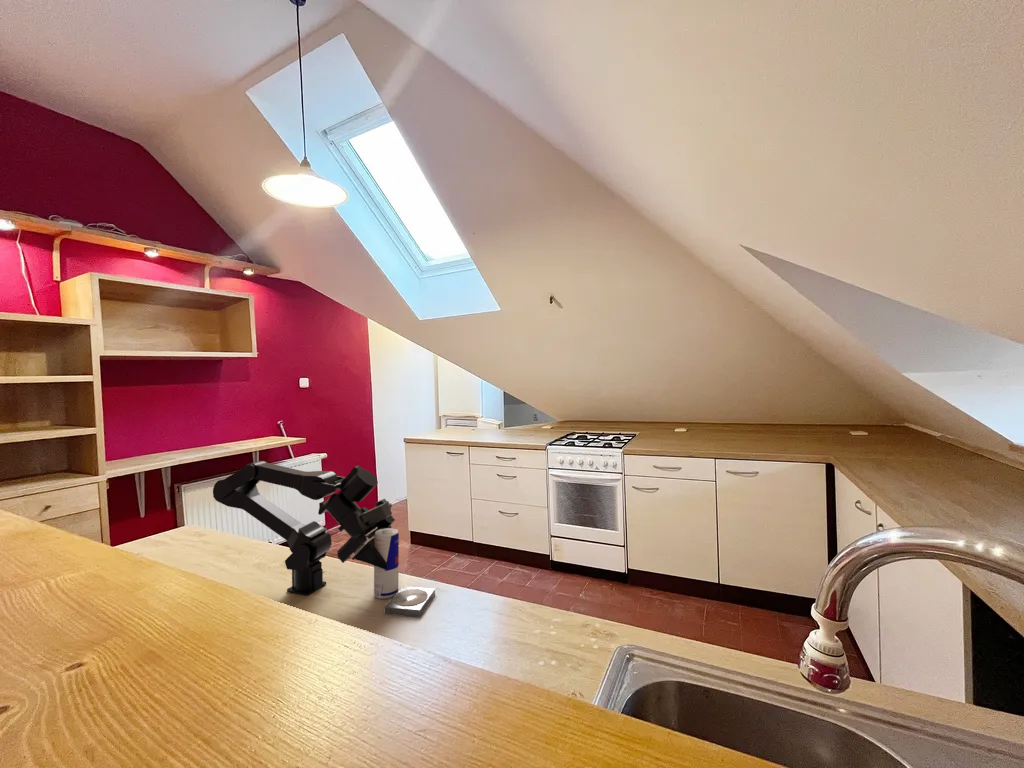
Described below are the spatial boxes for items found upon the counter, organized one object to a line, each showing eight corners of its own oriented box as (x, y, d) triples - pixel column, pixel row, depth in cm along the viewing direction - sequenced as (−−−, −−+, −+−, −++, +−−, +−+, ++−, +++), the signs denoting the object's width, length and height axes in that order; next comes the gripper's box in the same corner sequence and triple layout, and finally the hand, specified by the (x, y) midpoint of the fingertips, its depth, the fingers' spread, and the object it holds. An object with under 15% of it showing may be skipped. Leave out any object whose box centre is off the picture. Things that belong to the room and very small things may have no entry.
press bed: (384, 614, 95) (384, 606, 95) (403, 592, 105) (403, 585, 105) (419, 617, 94) (419, 609, 94) (435, 594, 104) (435, 587, 104)
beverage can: (391, 601, 101) (392, 535, 101) (369, 598, 102) (369, 534, 102) (402, 590, 106) (402, 528, 107) (381, 588, 107) (381, 526, 108)
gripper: (349, 502, 96) (397, 555, 94) (387, 483, 114) (428, 527, 112) (317, 536, 97) (363, 589, 95) (359, 512, 115) (399, 556, 113)
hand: (391, 562), depth 104 cm, fingers closed on beverage can, 5 cm apart
